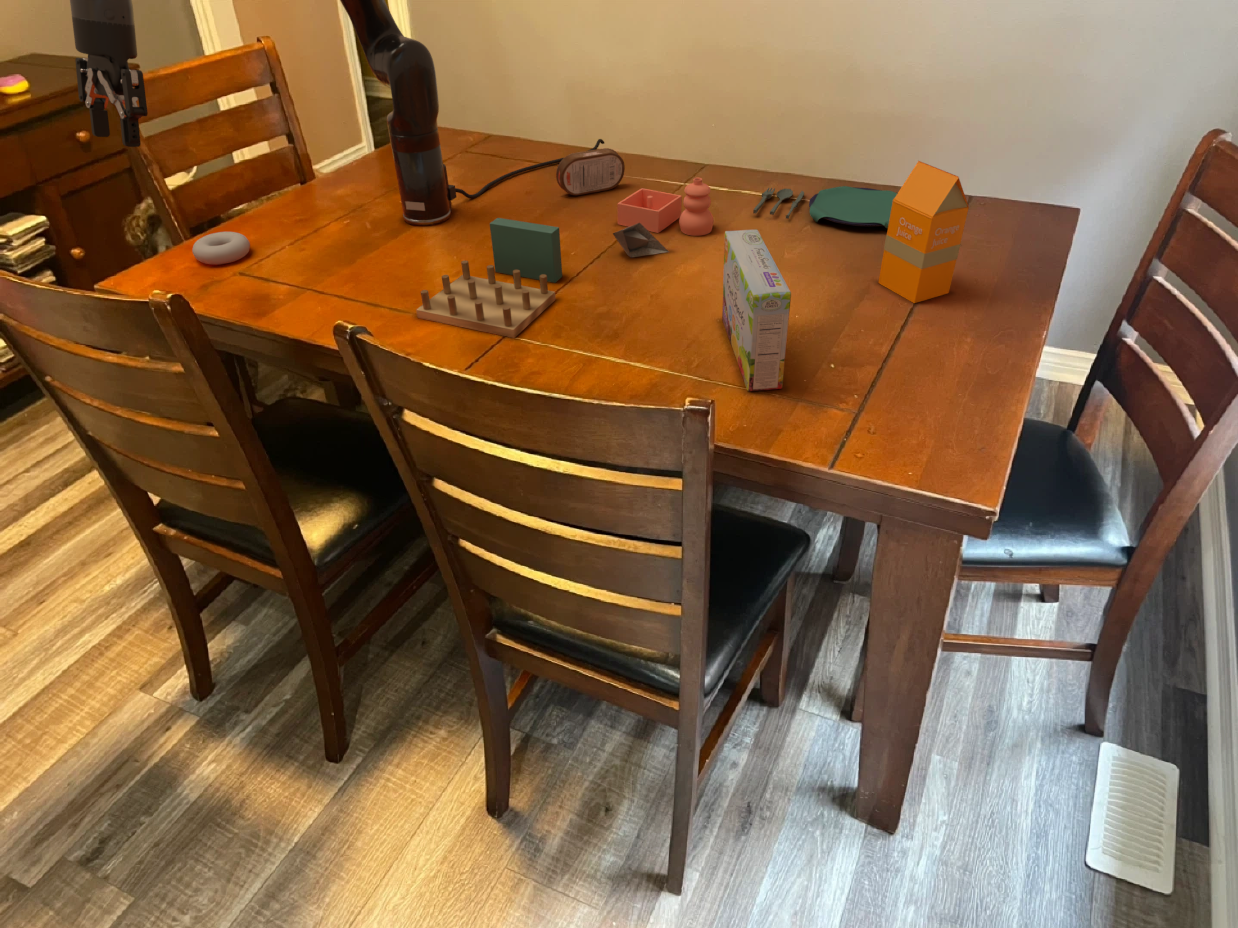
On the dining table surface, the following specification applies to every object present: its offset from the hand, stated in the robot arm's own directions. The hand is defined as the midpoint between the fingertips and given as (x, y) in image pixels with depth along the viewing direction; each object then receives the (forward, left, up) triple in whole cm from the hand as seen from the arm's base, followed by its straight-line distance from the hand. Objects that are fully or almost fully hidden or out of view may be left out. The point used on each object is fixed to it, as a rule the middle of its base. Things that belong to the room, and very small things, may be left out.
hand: (116, 141), depth 125 cm
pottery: (-64, +63, -28) cm, 94 cm away
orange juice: (-53, +111, -28) cm, 126 cm away
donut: (-20, -9, -28) cm, 35 cm away
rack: (-20, +48, -28) cm, 59 cm away
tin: (-75, +41, -28) cm, 90 cm away
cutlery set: (-82, +91, -28) cm, 125 cm away
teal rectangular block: (-34, +48, -28) cm, 65 cm away
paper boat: (-48, +63, -28) cm, 84 cm away
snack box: (-22, +92, -28) cm, 98 cm away
